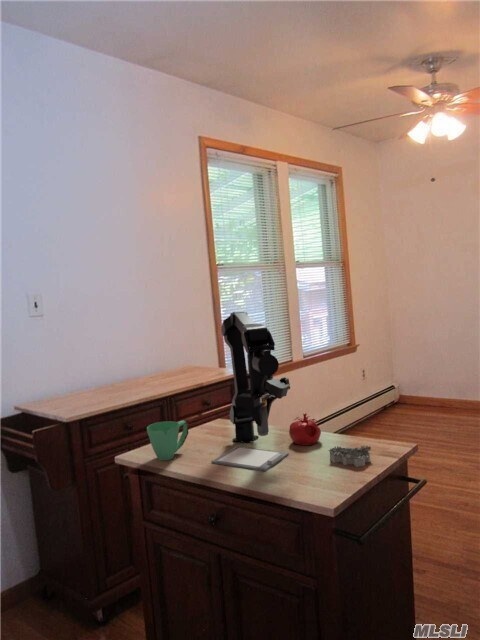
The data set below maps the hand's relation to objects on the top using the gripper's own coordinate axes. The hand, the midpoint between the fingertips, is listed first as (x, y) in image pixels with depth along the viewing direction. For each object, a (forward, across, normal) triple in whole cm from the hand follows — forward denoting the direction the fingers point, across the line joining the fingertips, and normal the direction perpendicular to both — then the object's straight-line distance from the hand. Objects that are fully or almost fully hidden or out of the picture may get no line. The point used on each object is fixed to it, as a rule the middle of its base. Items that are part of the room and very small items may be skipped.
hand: (262, 424), depth 141 cm
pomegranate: (+11, +19, -4) cm, 22 cm away
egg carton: (+11, +8, -22) cm, 26 cm away
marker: (+3, 0, 0) cm, 3 cm away
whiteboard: (+11, 0, +5) cm, 12 cm away
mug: (+11, -6, +30) cm, 32 cm away
